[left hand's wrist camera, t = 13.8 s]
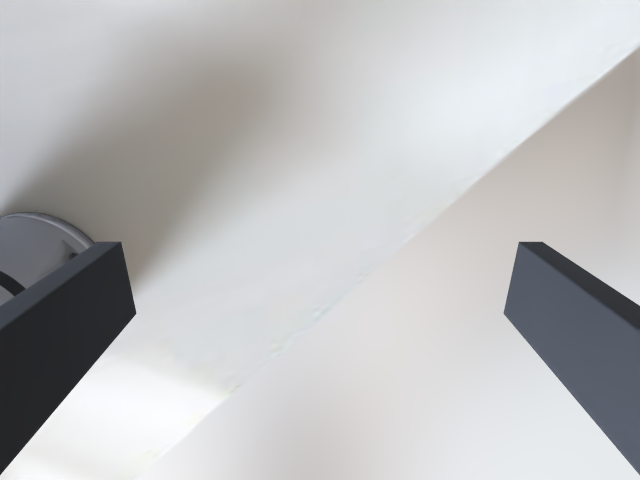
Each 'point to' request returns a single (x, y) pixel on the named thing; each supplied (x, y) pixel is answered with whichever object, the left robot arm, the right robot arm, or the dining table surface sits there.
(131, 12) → the dining table surface
